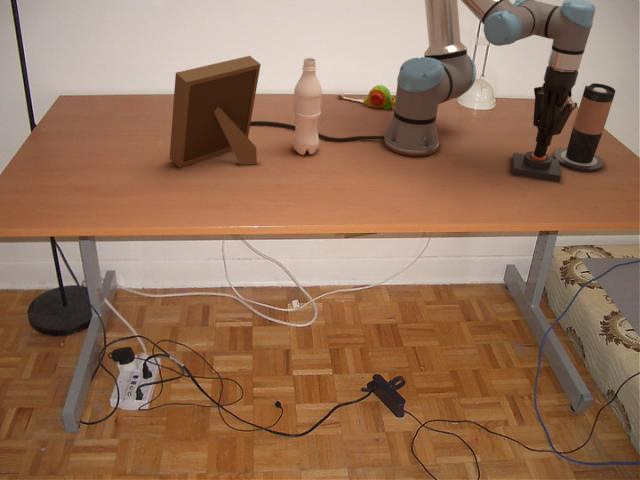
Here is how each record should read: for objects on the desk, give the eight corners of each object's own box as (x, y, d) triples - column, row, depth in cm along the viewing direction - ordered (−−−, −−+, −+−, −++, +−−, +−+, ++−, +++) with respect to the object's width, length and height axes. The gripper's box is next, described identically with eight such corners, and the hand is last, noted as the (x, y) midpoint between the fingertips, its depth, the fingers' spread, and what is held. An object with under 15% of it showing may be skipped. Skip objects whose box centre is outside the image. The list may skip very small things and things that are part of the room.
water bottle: (322, 149, 175) (328, 58, 161) (311, 159, 170) (316, 66, 156) (299, 143, 177) (303, 53, 164) (287, 152, 172) (290, 61, 158)
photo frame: (169, 161, 164) (162, 65, 150) (237, 139, 177) (235, 49, 163) (204, 183, 155) (199, 84, 141) (272, 158, 168) (273, 65, 155)
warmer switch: (512, 175, 168) (515, 161, 166) (511, 159, 177) (515, 145, 174) (559, 182, 166) (563, 168, 164) (556, 165, 175) (560, 152, 172)
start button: (529, 164, 169) (531, 158, 168) (529, 157, 172) (530, 151, 171) (545, 166, 168) (546, 160, 167) (544, 159, 171) (546, 154, 170)
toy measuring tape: (392, 113, 199) (395, 93, 195) (335, 100, 205) (337, 80, 202) (399, 107, 204) (402, 87, 200) (343, 94, 210) (345, 75, 206)
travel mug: (595, 165, 173) (618, 95, 162) (566, 161, 174) (587, 91, 163) (591, 153, 180) (613, 85, 169) (563, 150, 181) (583, 81, 170)
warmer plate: (555, 168, 173) (556, 164, 173) (552, 148, 184) (553, 144, 183) (605, 175, 171) (606, 172, 171) (599, 155, 182) (600, 151, 181)
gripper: (594, 74, 153) (567, 163, 166) (555, 58, 162) (533, 143, 175) (571, 78, 150) (546, 168, 163) (532, 60, 159) (512, 147, 172)
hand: (539, 155), depth 169 cm, fingers closed
